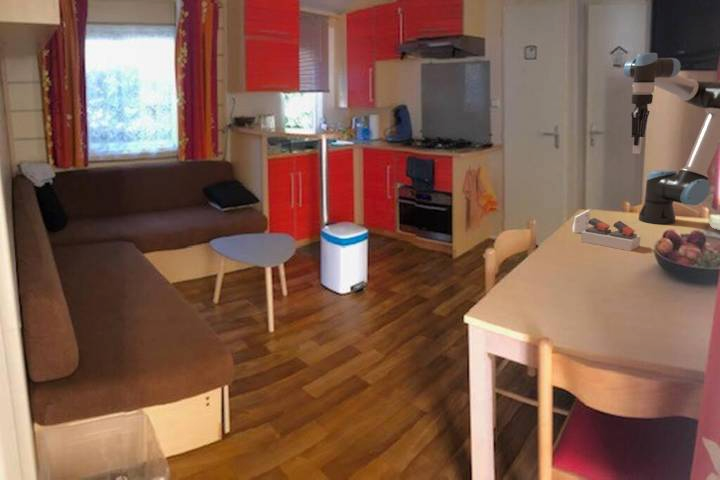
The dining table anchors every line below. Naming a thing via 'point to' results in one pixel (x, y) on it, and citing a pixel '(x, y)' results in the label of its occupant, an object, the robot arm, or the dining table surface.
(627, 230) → the rocker
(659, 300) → the dining table surface
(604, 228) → the rocker
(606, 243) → the power strip
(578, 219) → the white wedge bracket
